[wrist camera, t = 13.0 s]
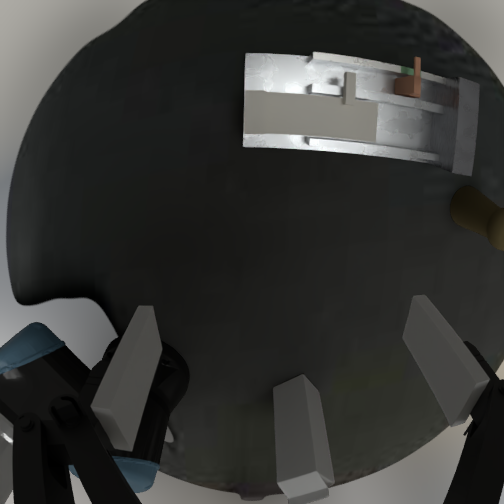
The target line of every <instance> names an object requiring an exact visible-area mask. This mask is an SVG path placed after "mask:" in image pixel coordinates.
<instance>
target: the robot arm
mask: <svg viewBox="0 0 504 504" xmlns="http://www.w3.org/2000/svg"><path fill="white" fill-rule="evenodd" d="M402 339H403V340H404V342H405V344H406V345H407V347H408V349H409V350H410V352H411V354H412V356H413V357H414V359H415V361H416V363H417V364H418V366H419V368H420V370H421V372H422V373H423V375H424V377H425V379H426V381H427V382H428V384H429V386H430V388H431V390H432V392H433V393H434V395H435V397H436V399H437V401H438V403H439V405H440V407H441V408H442V410H443V412H444V414H445V416H446V418H447V420H448V422H449V424H450V426H451V427H453V426H457V425H460V424H463V423H465V421H466V420H467V418H468V417H469V415H471V416H472V418H473V420H472V422H471V424H470V425H469V427H468V428H467V430H466V431H465V433H464V435H466V434H467V432H468V434H467V438H466V441H465V445H464V448H463V451H462V454H461V457H460V460H459V463H458V466H457V469H456V472H455V474H454V477H453V480H452V483H451V485H450V488H449V490H448V493H447V495H446V498H445V500H444V503H443V504H499V500H500V496H501V493H502V488H503V484H504V380H503V379H502V380H499V378H498V377H497V375H496V374H495V372H494V371H493V370H492V368H491V367H490V366H489V364H488V363H487V362H486V361H485V359H484V358H483V356H482V355H480V352H479V351H478V350H477V348H476V347H475V346H473V345H472V344H471V343H469V342H468V341H465V342H463V341H462V340H461V339H460V338H459V336H458V335H457V334H456V332H455V331H454V330H453V329H452V327H451V326H450V325H449V324H448V322H447V321H446V320H445V318H444V317H443V316H442V315H441V314H440V312H439V311H438V310H437V309H436V307H435V306H434V305H433V304H432V303H431V301H430V300H429V299H428V298H427V297H426V295H418V296H413V298H412V302H411V307H410V311H409V315H408V319H407V322H406V326H405V330H404V333H403V337H402ZM189 378H190V375H189V369H188V367H187V364H186V363H185V361H184V359H183V358H182V357H181V356H180V355H179V354H178V353H177V352H176V351H175V350H174V349H173V348H171V347H170V346H168V345H167V344H165V343H163V342H161V340H160V336H159V332H158V327H157V323H156V318H155V313H154V308H153V306H138V308H137V310H136V312H135V314H134V315H133V317H132V319H131V321H130V323H129V325H128V327H127V329H126V331H125V333H124V335H123V336H120V337H118V338H116V339H114V340H113V341H112V342H111V343H110V344H109V345H108V347H107V349H106V351H105V353H104V355H103V358H102V360H101V361H99V362H98V363H97V364H96V365H95V366H94V367H93V368H92V370H90V369H89V368H88V367H87V366H86V365H85V364H84V363H83V362H81V360H80V359H78V358H77V356H76V355H74V353H73V352H72V351H71V350H70V349H69V348H68V347H67V346H66V345H65V342H64V341H61V340H60V339H59V338H58V337H57V336H56V335H55V334H54V333H53V332H52V331H51V330H50V329H49V328H48V327H47V326H45V325H44V324H42V323H39V322H34V323H31V324H29V325H28V326H26V327H25V328H24V329H22V330H21V331H20V332H19V333H17V334H16V335H15V336H14V337H12V338H11V339H10V340H9V341H8V342H7V343H5V344H4V345H3V346H2V347H1V348H0V504H5V502H6V500H7V499H8V497H9V495H10V494H11V492H12V490H13V493H14V504H75V502H74V496H73V491H72V485H71V479H70V473H69V470H70V471H71V473H72V474H73V475H75V476H76V477H78V478H79V479H80V481H81V482H82V485H83V487H84V489H85V491H86V493H87V495H88V497H89V499H90V501H91V502H92V504H142V503H141V502H140V500H139V499H138V497H137V496H136V494H135V493H140V492H144V491H147V490H148V489H150V488H151V487H152V485H153V483H154V480H155V476H156V473H157V470H158V469H159V466H160V465H159V463H160V458H161V454H162V449H163V444H164V439H165V435H166V430H167V425H168V421H169V417H170V414H171V412H172V411H173V410H174V408H175V407H176V406H177V404H178V403H179V402H180V400H181V399H182V398H183V396H184V395H185V393H186V391H187V388H188V383H189Z"/></svg>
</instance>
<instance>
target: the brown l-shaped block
mask: <svg viewBox="0 0 504 504" xmlns="http://www.w3.org/2000/svg"><path fill="white" fill-rule="evenodd" d="M420 94H421V77H420V58H419V57H414V75H413V76H407V77H401V78H395V95H401V96H405V97H410V98H420Z"/></svg>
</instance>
